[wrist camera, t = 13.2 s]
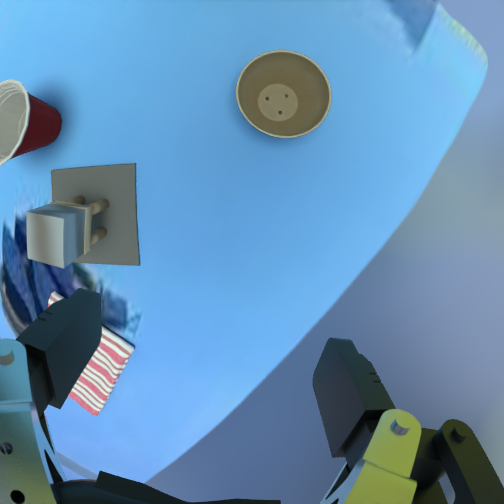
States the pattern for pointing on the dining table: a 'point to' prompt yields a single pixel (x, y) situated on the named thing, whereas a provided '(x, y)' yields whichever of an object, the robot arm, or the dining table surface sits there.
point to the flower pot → (283, 94)
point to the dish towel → (99, 369)
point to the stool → (63, 230)
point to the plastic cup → (24, 121)
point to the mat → (114, 217)
